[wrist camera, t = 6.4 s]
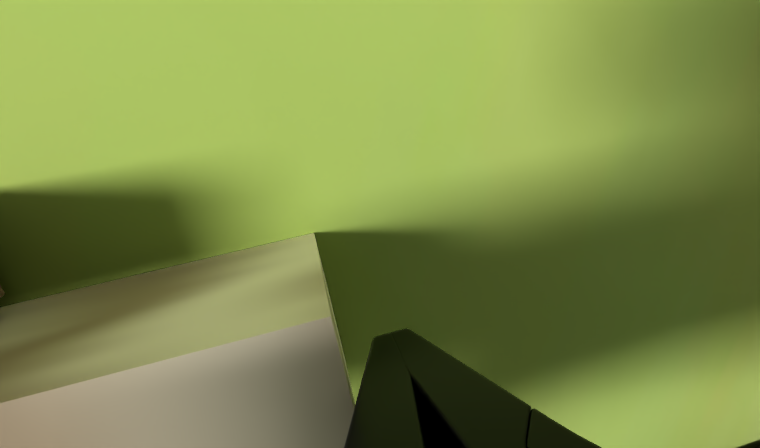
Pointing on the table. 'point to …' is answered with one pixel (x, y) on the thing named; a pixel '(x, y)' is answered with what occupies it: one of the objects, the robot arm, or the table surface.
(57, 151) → the table surface
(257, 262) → the block
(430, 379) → the robot arm
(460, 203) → the table surface
